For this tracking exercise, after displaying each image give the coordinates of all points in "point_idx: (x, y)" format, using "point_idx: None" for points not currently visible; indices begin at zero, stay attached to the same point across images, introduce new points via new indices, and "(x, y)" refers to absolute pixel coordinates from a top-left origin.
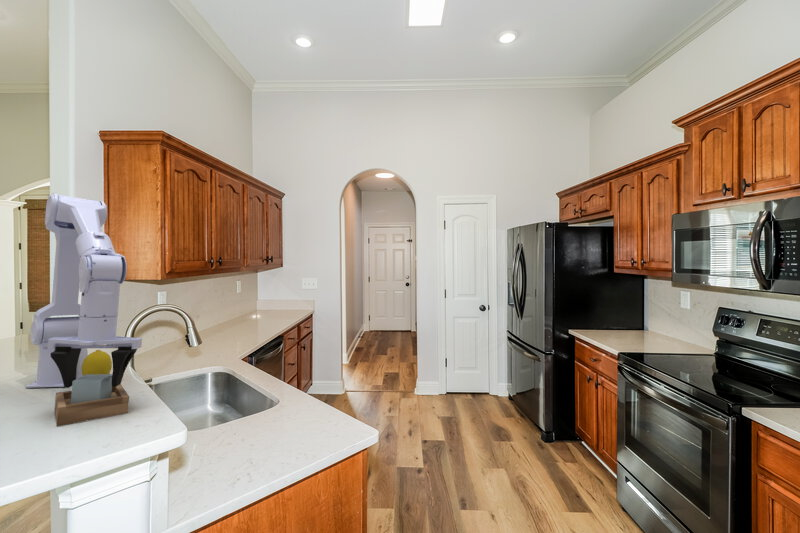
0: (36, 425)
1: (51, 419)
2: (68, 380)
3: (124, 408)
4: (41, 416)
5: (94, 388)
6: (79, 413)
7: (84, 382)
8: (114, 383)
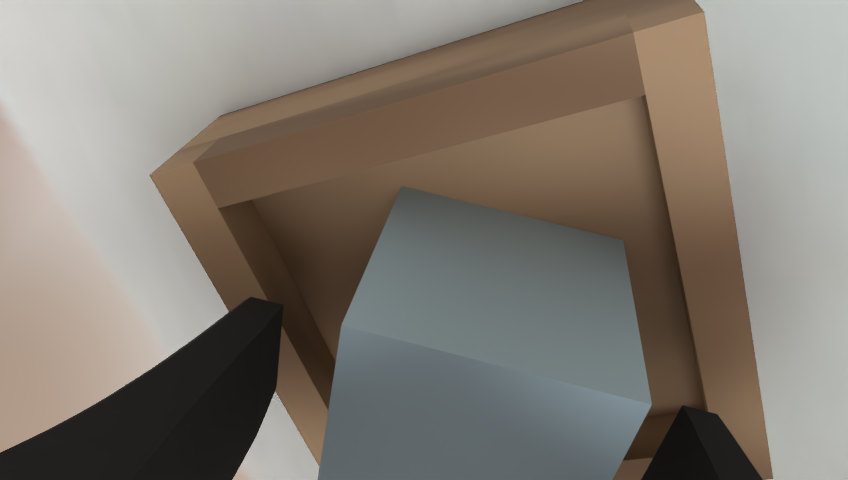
0: (826, 64)
1: (731, 172)
2: (701, 468)
3: (223, 124)
4: (806, 266)
5: (423, 285)
6: (515, 38)
7: (520, 354)
8: (242, 311)
